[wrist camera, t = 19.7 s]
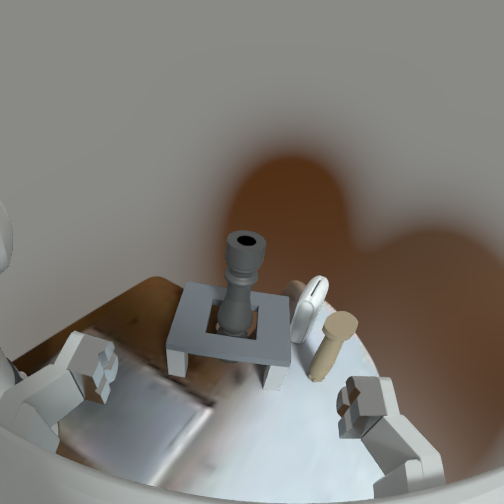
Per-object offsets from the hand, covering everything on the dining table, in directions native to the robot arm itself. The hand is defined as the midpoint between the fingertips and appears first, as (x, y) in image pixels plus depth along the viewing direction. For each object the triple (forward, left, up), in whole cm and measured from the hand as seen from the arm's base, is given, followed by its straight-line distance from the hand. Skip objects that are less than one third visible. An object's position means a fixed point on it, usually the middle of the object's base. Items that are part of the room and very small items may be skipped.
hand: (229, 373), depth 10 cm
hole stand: (0, +33, -40) cm, 52 cm away
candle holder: (0, +33, -40) cm, 52 cm away
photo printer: (+15, +42, -40) cm, 60 cm away
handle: (+17, +29, -40) cm, 52 cm away
